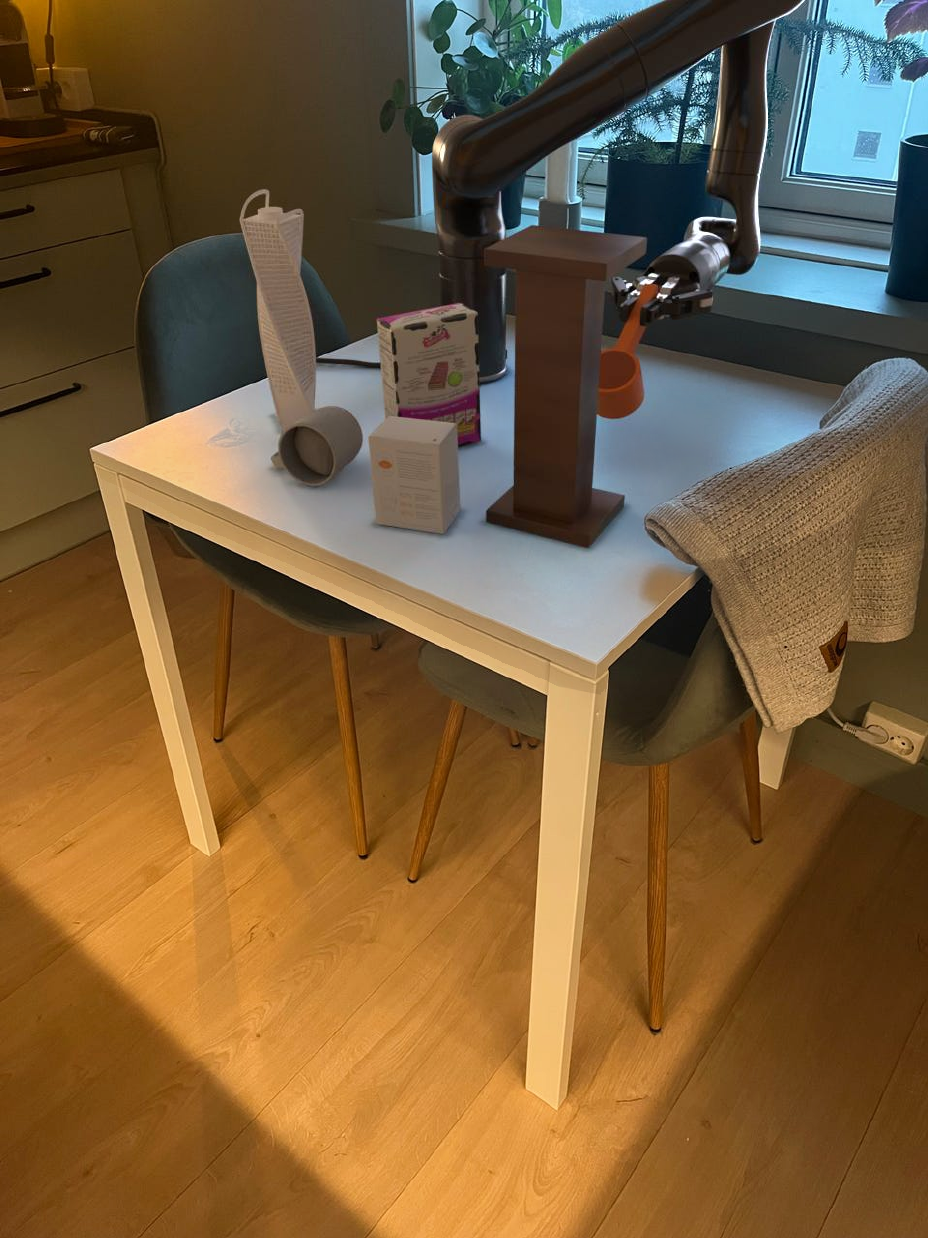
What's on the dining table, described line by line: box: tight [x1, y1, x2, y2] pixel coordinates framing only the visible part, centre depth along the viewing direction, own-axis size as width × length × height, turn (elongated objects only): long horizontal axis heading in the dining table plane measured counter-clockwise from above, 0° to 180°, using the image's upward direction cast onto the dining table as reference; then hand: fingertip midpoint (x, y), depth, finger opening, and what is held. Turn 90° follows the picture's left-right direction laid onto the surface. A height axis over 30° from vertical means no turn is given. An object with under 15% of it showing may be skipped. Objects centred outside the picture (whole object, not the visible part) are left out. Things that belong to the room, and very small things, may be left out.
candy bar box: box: [376, 303, 482, 448], centre depth 115 cm, size 11×5×16 cm, turn 117°
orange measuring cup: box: [597, 283, 658, 420], centre depth 112 cm, size 16×6×5 cm
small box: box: [367, 416, 462, 535], centre depth 102 cm, size 8×6×10 cm
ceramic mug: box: [270, 405, 364, 487], centre depth 113 cm, size 11×8×8 cm
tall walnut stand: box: [484, 224, 648, 549], centre depth 97 cm, size 10×12×28 cm
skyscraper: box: [239, 188, 317, 433], centre depth 119 cm, size 8×7×28 cm
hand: (634, 316), depth 110 cm, fingers closed on orange measuring cup, 1 cm apart
